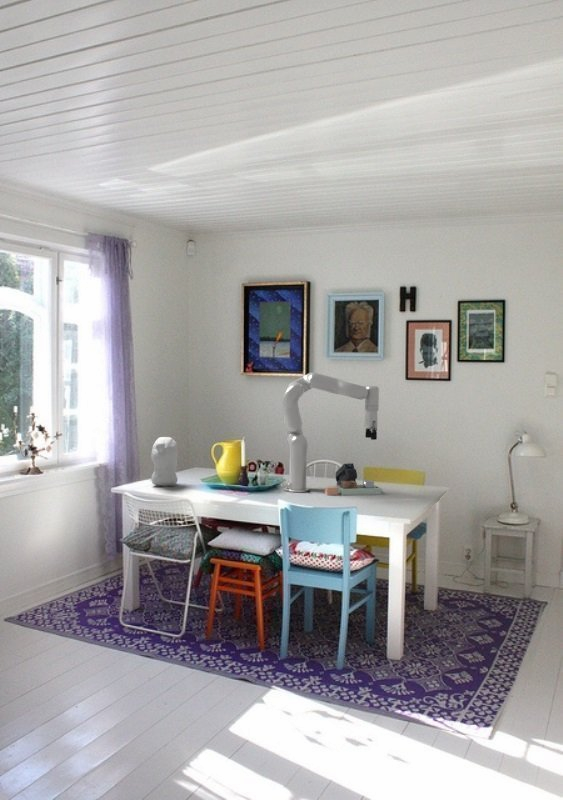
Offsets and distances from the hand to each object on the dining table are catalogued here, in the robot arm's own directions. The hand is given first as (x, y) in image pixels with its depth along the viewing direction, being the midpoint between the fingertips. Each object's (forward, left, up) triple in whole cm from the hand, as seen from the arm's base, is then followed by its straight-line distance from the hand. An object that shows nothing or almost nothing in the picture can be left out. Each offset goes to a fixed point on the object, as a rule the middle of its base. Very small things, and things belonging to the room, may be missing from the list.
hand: (370, 438), depth 417 cm
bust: (-114, +22, -29) cm, 120 cm away
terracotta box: (-26, -15, -29) cm, 42 cm away
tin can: (-4, -12, -28) cm, 31 cm away
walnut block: (-15, -12, -28) cm, 34 cm away
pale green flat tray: (-10, -12, -29) cm, 33 cm away
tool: (-12, +7, -29) cm, 32 cm away
